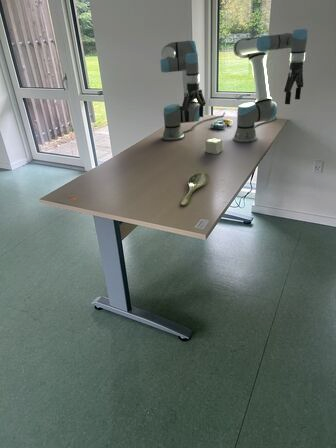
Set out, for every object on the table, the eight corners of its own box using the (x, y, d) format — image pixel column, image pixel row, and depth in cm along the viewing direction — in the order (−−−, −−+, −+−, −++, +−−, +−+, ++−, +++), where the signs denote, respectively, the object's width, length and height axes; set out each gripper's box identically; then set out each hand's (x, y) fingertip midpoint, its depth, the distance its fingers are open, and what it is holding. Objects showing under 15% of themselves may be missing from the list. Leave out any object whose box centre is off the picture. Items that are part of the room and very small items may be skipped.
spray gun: (235, 122, 269) (217, 122, 276) (235, 117, 267) (217, 117, 273) (227, 130, 254) (208, 130, 260) (227, 125, 252) (208, 124, 258)
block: (211, 149, 221) (211, 138, 217) (222, 151, 216) (222, 139, 212) (205, 152, 217) (205, 140, 213) (216, 154, 212) (216, 142, 208)
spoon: (193, 209, 156) (193, 205, 155) (172, 207, 159) (171, 203, 158) (212, 175, 182) (212, 172, 181) (193, 174, 186) (193, 170, 184)
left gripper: (201, 79, 208) (202, 114, 218) (174, 85, 193) (176, 123, 203) (210, 79, 203) (211, 115, 213) (183, 86, 188) (185, 124, 199)
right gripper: (299, 58, 194) (295, 96, 205) (280, 64, 178) (276, 105, 189) (312, 58, 189) (307, 97, 200) (293, 64, 174) (289, 106, 185)
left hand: (194, 119), depth 208 cm, fingers open, 13 cm apart
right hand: (292, 101), depth 195 cm, fingers open, 13 cm apart
